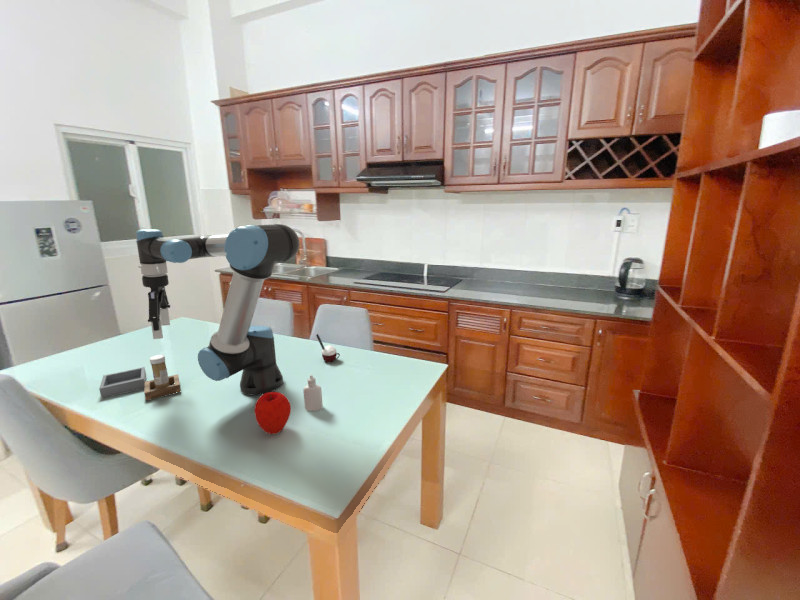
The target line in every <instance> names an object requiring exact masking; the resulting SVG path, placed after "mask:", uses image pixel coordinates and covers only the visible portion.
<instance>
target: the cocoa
mask: <svg viewBox="0 0 800 600" xmlns="http://www.w3.org/2000/svg"><path fill="white" fill-rule="evenodd" d="M316 338H317V341H318V343H319V344H320V347H321V348H322V350H321V357H322V360H323V361H324V362H325V363H333V362H334V361H335V360H338V359H339V358H340V353H338V352H337V349H336V348H335V347H334V346H333V345H326V346H324V344H323V342H322V339H321V337H320V335H319V333H317V334H316ZM337 356H338V357H337Z"/></svg>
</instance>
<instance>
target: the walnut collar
mask: <svg viewBox="0 0 800 600" xmlns="http://www.w3.org/2000/svg"><path fill="white" fill-rule="evenodd" d="M168 379H169V386H165V387H161V388H157V389H155V388H156V386H155V382H154V379H152V380H146V382H145V388H144V390H143V391H144V397H145V401H147V400H148V401H151V400H150V399H152V400H154V398H156V399H159V398H158V397H160V398H162V397H161V396H164V397H166V396H165V395H168V396H170V395H169V394H172V395H174V394H173V393H176V392H180V391H181V392H182V388H181V382H180V377H179V374H174V375H173V374H172V375H168ZM174 383H175V384H174ZM170 384H172V385H170ZM181 392H180V393H181ZM176 394H177V393H176Z"/></svg>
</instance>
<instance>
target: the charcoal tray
mask: <svg viewBox="0 0 800 600" xmlns="http://www.w3.org/2000/svg"><path fill="white" fill-rule="evenodd" d="M146 372H147V371H146V367H145V366H144V367H143V366H142V367H138V368H133V369H128V370H125V371H124V370H123V371H119V372H113V373H110V374H109V373H108V374H103V375H102V379H101V382H100V384H99V392H100V393H99V394H100V397H101V399H104V398H105V399H106V398H110V397H113V396H117V395H122V394H126V393H130V392H134V391H135V392H136V391H138V390H139V391H140V390H143V389H144V390H145V382H146V381H147V373H146Z"/></svg>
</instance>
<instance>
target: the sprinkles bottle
mask: <svg viewBox="0 0 800 600" xmlns="http://www.w3.org/2000/svg"><path fill="white" fill-rule="evenodd" d="M149 363H150V366H151V369H152V376H153V380H154V382H155V386H156V389H157V388H161V387H165V386H169V379H168V376H169V375H168V370H167V365H166V356H165V355H164V354H156V355H153V356H151V357H149Z"/></svg>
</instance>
